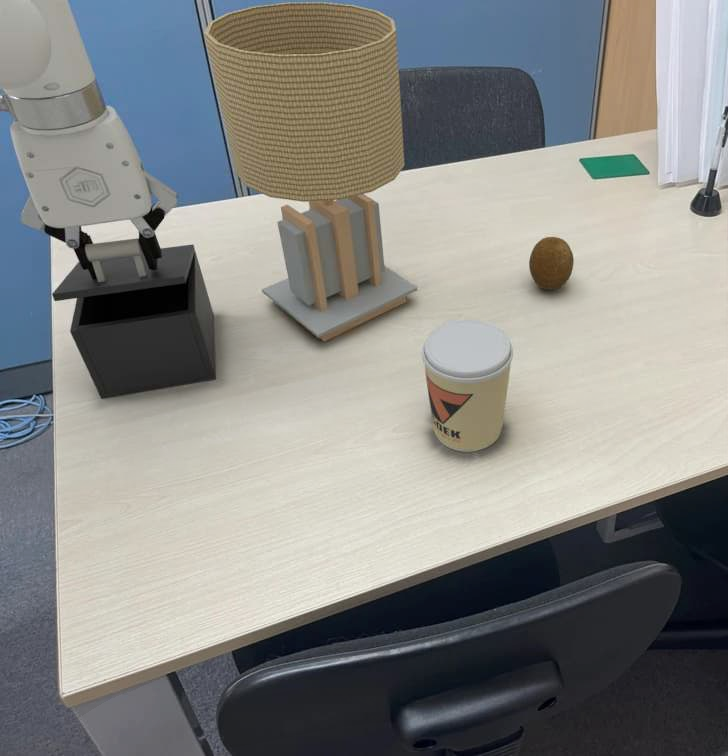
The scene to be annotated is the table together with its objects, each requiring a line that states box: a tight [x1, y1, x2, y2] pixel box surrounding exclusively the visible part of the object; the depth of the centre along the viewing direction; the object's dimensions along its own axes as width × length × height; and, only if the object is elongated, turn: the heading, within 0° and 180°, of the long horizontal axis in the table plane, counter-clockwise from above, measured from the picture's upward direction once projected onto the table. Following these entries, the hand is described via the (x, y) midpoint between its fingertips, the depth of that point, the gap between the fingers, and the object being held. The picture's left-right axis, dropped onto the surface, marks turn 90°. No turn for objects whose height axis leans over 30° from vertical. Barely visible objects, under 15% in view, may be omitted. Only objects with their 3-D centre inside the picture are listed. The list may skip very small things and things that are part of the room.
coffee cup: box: [421, 318, 514, 453], centre depth 76 cm, size 9×9×12 cm
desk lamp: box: [203, 1, 418, 342], centre depth 86 cm, size 20×20×35 cm
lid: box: [51, 237, 196, 302], centre depth 79 cm, size 14×13×5 cm
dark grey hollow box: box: [69, 251, 217, 400], centre depth 85 cm, size 14×13×10 cm
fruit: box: [528, 236, 575, 290], centre depth 100 cm, size 6×6×8 cm
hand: (125, 266), depth 78 cm, fingers closed on lid, 5 cm apart
